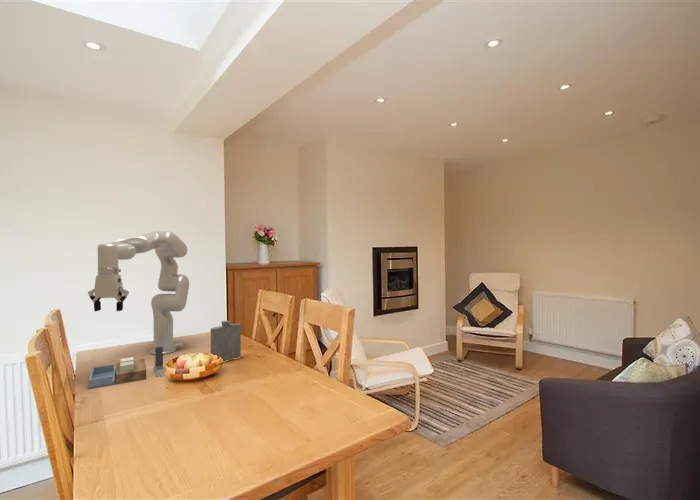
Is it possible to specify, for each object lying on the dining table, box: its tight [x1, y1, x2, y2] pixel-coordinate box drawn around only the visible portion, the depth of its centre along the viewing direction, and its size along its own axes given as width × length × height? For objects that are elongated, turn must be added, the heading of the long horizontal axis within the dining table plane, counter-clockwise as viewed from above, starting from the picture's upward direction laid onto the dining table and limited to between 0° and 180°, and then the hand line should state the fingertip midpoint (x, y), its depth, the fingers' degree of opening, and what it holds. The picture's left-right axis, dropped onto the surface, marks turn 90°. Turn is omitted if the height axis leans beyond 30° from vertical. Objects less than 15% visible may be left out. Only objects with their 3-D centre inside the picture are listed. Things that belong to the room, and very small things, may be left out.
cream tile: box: [119, 356, 135, 363], centre depth 162 cm, size 5×5×2 cm
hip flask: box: [210, 320, 242, 361], centre depth 180 cm, size 16×4×20 cm, turn 139°
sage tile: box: [119, 360, 135, 372], centre depth 156 cm, size 5×5×2 cm
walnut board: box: [115, 358, 147, 385], centre depth 159 cm, size 11×18×4 cm, turn 32°
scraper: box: [153, 346, 165, 378], centre depth 165 cm, size 3×16×11 cm, turn 32°
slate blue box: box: [88, 364, 116, 389], centre depth 154 cm, size 8×18×4 cm, turn 32°
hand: (108, 310), depth 158 cm, fingers open, 9 cm apart
